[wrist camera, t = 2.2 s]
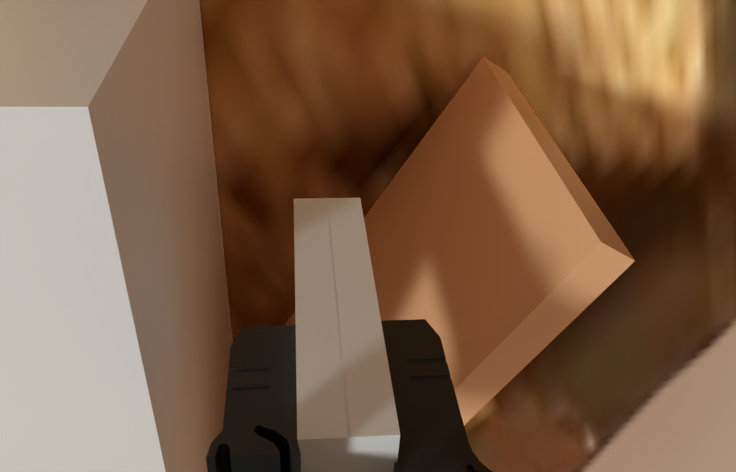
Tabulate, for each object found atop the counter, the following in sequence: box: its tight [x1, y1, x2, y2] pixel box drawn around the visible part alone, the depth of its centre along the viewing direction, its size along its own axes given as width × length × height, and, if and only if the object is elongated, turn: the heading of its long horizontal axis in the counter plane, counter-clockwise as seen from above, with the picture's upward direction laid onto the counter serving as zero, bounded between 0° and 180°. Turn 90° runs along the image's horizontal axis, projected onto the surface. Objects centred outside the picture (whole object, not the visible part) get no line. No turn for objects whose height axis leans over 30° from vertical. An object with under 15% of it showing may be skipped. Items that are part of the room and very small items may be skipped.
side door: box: [285, 57, 635, 425], centre depth 22 cm, size 17×2×10 cm, turn 147°
